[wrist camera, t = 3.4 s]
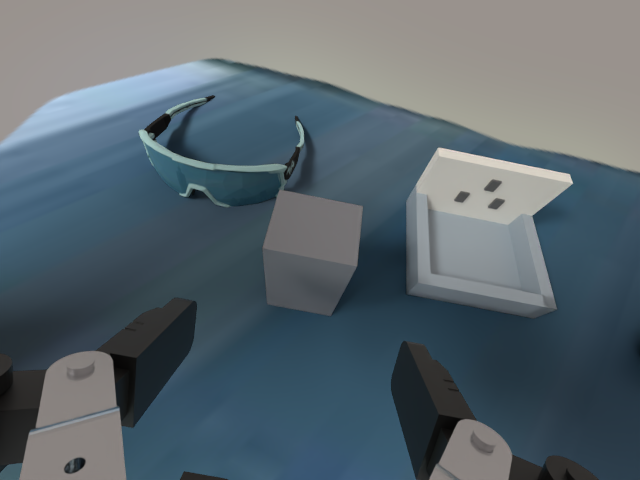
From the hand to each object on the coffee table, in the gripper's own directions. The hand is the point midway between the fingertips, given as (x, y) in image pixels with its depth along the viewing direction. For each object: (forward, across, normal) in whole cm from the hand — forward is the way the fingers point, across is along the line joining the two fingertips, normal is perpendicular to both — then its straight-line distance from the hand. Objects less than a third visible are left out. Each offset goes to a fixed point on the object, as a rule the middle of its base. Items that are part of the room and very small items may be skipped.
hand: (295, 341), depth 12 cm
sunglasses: (+22, +10, -6) cm, 25 cm away
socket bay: (+17, -14, -1) cm, 22 cm away
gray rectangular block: (+12, 0, +3) cm, 13 cm away
